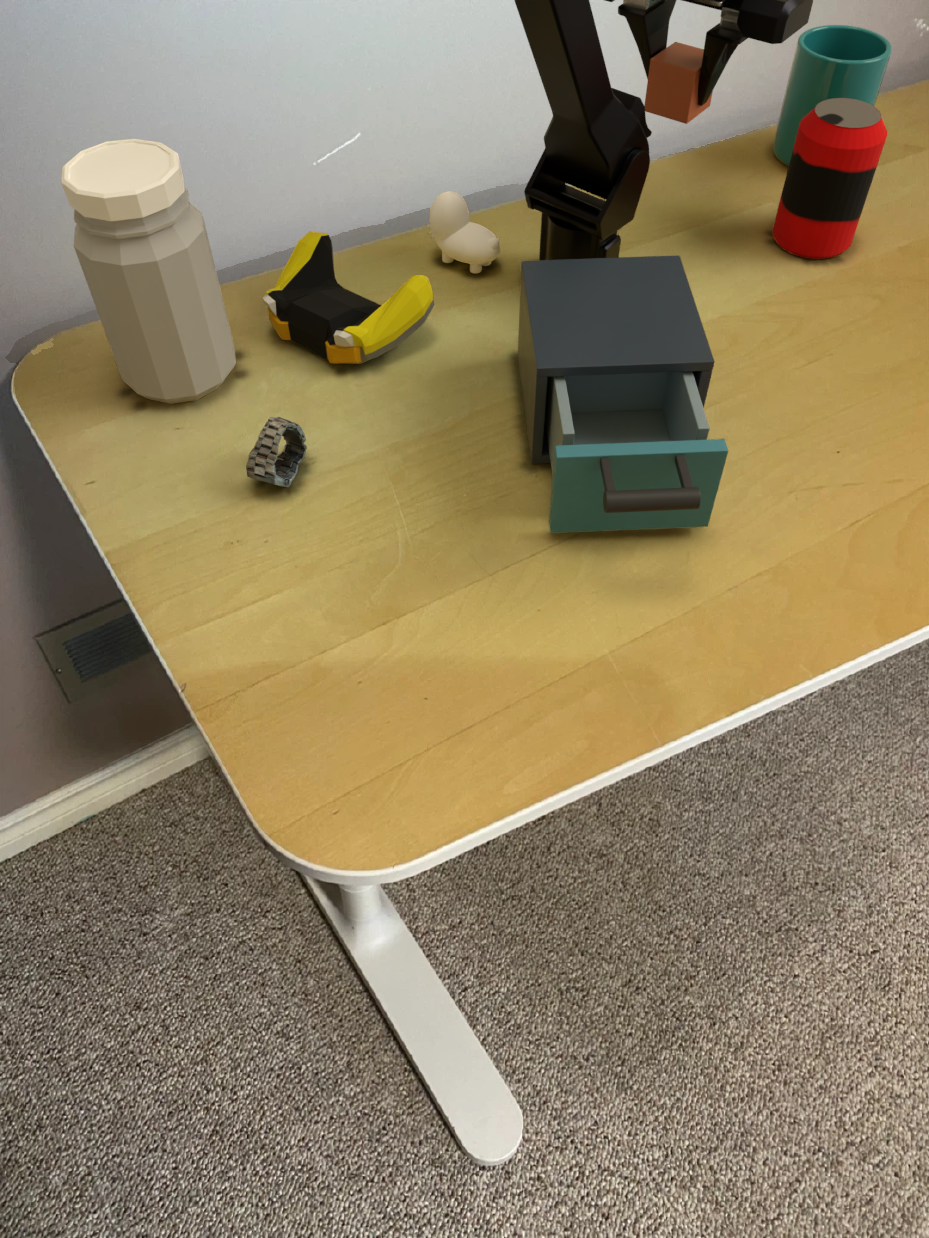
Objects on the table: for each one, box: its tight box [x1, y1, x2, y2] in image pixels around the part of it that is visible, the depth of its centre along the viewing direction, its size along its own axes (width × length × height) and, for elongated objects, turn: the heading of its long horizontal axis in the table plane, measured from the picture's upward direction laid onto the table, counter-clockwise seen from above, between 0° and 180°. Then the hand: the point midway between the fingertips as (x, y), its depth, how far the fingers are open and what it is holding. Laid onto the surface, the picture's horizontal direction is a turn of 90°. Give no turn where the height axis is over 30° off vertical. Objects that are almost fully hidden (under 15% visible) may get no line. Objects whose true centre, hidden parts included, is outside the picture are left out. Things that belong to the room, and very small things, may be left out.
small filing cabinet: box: [517, 254, 716, 465], centre depth 75 cm, size 14×13×9 cm
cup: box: [772, 24, 893, 167], centre depth 100 cm, size 9×12×11 cm
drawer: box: [544, 371, 729, 534], centre depth 68 cm, size 17×11×8 cm
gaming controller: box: [262, 231, 435, 365], centre depth 84 cm, size 15×6×10 cm
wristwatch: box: [245, 416, 308, 488], centre depth 73 cm, size 3×5×5 cm
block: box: [644, 41, 714, 125], centre depth 87 cm, size 4×4×4 cm
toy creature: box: [426, 190, 502, 274], centre depth 90 cm, size 5×8×6 cm, turn 56°
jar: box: [60, 138, 237, 405], centre depth 75 cm, size 10×10×18 cm
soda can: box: [771, 98, 888, 260], centre depth 89 cm, size 8×8×12 cm
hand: (678, 97), depth 88 cm, fingers closed on block, 4 cm apart
